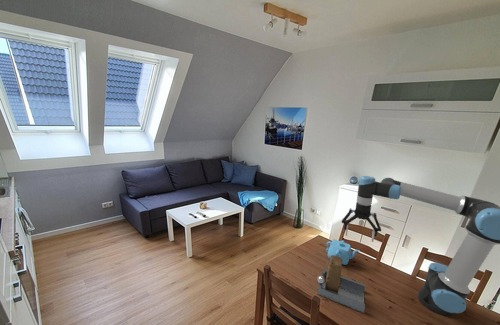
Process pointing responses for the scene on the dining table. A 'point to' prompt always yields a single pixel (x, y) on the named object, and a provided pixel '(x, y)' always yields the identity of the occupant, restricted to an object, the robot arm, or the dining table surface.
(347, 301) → the dock
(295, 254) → the dining table surface
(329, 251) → the teapot
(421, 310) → the dining table surface
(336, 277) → the brown blocky piece
